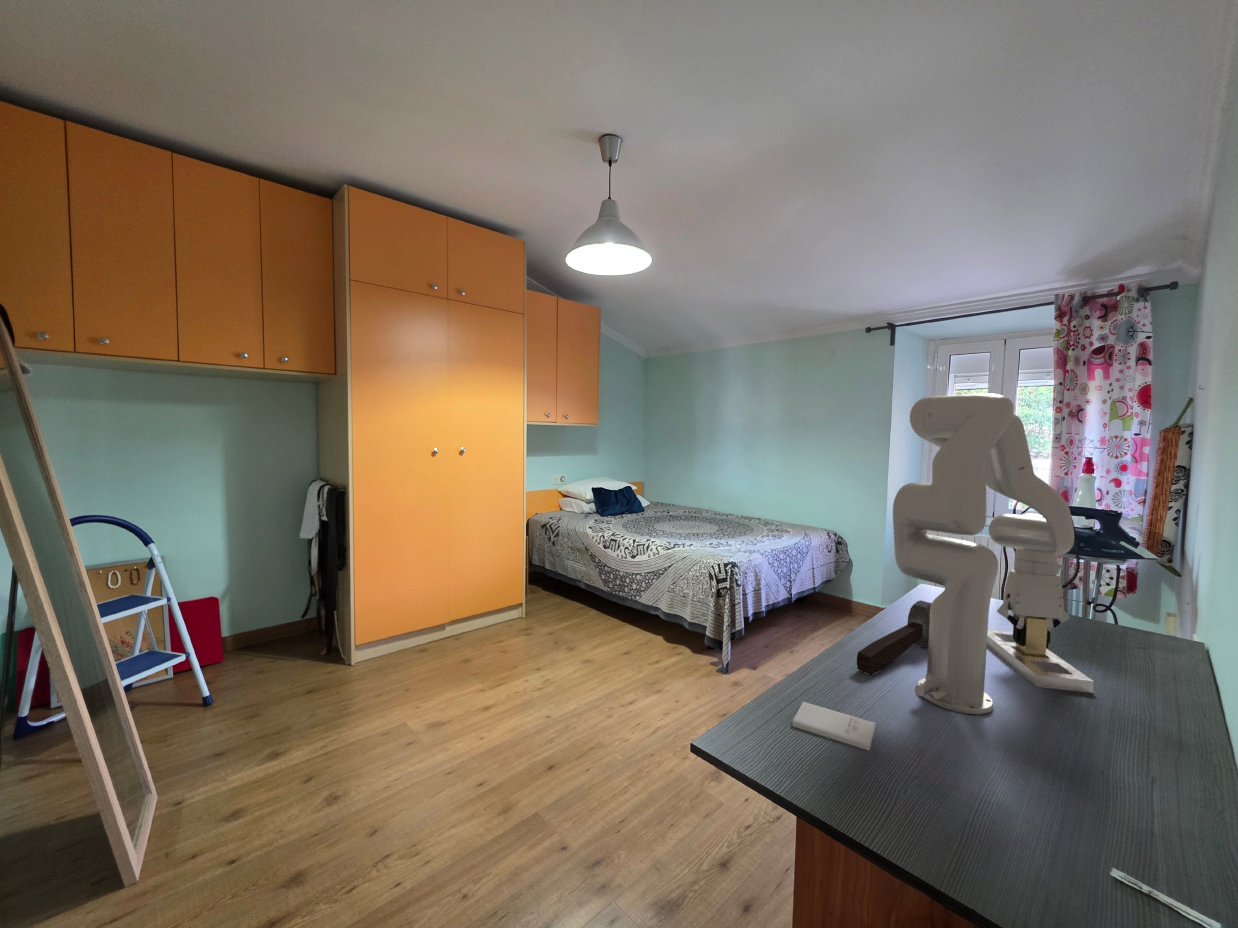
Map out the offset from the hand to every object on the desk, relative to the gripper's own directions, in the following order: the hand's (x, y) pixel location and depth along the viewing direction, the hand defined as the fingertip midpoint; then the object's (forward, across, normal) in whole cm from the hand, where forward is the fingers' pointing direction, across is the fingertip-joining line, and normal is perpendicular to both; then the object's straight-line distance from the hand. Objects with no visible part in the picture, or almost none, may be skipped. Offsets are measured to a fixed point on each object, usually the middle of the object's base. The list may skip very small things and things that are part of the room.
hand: (1030, 644), depth 117 cm
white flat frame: (+4, 0, 0) cm, 4 cm away
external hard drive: (+4, +49, +40) cm, 64 cm away
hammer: (+4, +30, +6) cm, 30 cm away
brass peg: (+2, 0, 0) cm, 2 cm away
